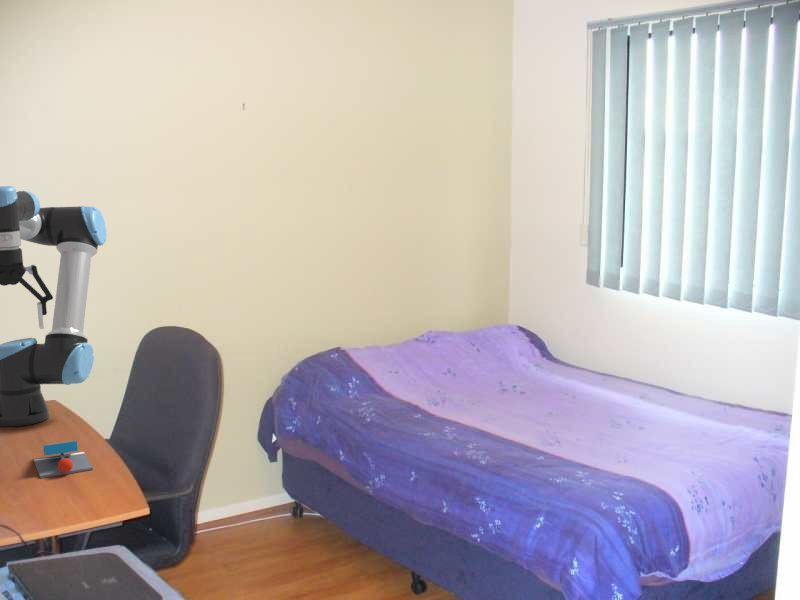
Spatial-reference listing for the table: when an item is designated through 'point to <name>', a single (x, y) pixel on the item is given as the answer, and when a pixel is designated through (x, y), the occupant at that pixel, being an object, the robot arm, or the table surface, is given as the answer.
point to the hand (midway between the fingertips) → (13, 331)
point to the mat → (50, 464)
